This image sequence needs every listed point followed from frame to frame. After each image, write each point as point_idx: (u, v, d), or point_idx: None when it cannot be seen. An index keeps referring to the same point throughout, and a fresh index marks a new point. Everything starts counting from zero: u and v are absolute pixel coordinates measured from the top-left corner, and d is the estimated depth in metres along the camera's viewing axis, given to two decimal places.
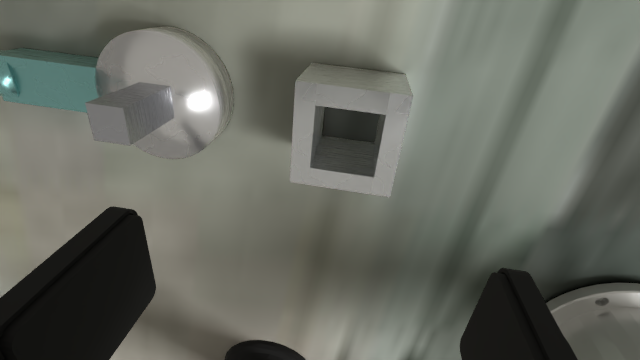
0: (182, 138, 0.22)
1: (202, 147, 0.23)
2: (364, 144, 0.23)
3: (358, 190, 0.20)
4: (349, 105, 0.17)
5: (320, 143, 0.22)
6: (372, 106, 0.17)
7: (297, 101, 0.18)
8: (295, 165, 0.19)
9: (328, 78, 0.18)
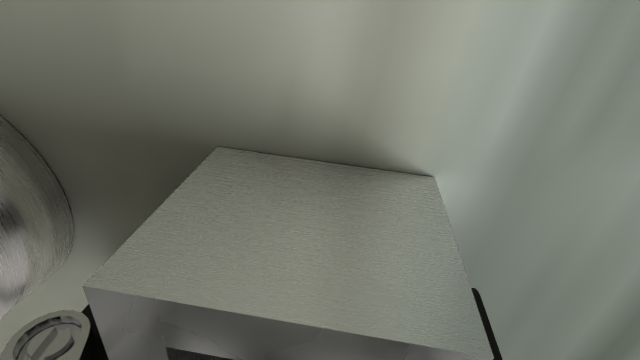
0: None
1: None
2: None
3: None
4: (272, 357, 0.05)
5: None
6: None
7: (108, 333, 0.05)
8: None
9: (218, 242, 0.06)
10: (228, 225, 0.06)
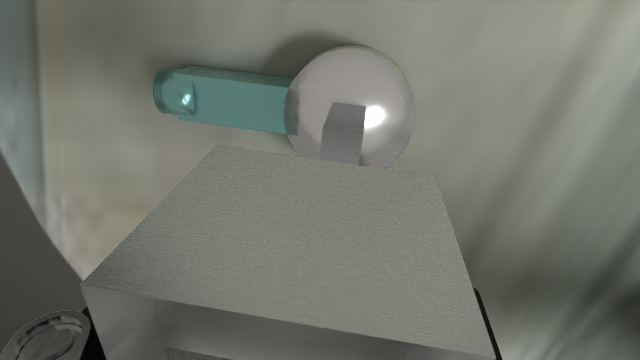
0: (363, 158, 0.22)
1: (383, 166, 0.22)
2: None
3: None
4: (271, 357, 0.05)
5: None
6: None
7: (106, 333, 0.05)
8: None
9: (217, 240, 0.06)
10: (227, 224, 0.06)
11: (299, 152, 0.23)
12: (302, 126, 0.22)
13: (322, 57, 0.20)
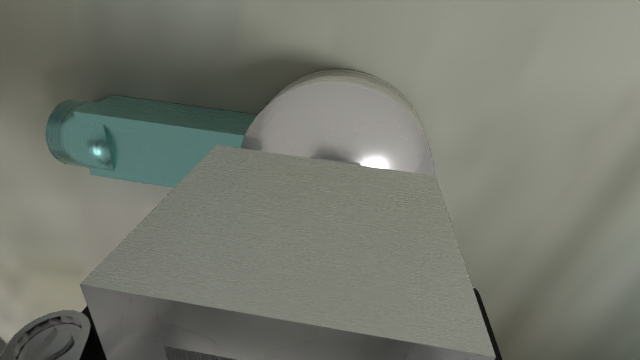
0: None
1: None
2: None
3: None
4: (271, 356, 0.05)
5: None
6: None
7: (106, 332, 0.05)
8: None
9: (217, 240, 0.06)
10: (227, 223, 0.06)
11: None
12: None
13: (292, 92, 0.13)
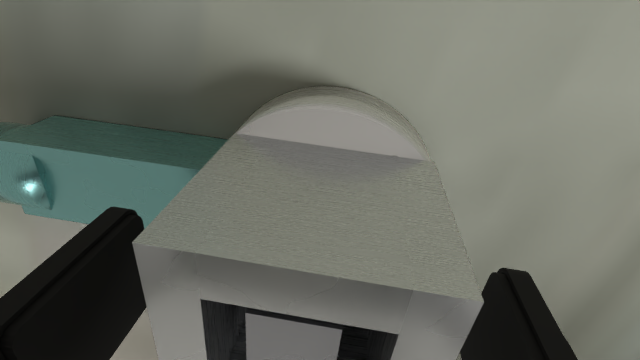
0: None
1: None
2: None
3: None
4: (293, 306, 0.06)
5: None
6: (358, 314, 0.06)
7: (150, 287, 0.06)
8: None
9: (244, 211, 0.07)
10: (251, 198, 0.07)
11: None
12: None
13: (265, 119, 0.10)
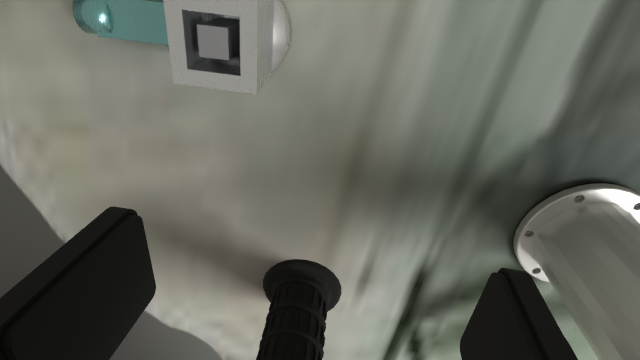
0: None
1: None
2: None
3: (230, 89, 0.23)
4: (209, 8, 0.21)
5: (208, 58, 0.26)
6: (227, 9, 0.21)
7: (166, 6, 0.21)
8: (175, 67, 0.23)
9: None
10: None
11: None
12: None
13: None
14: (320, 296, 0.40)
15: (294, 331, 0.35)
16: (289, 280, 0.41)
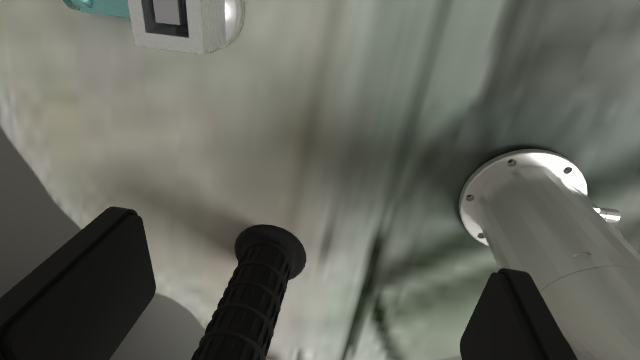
0: None
1: None
2: None
3: (181, 49, 0.28)
4: None
5: (169, 28, 0.31)
6: None
7: None
8: (135, 31, 0.27)
9: None
10: None
11: None
12: None
13: None
14: (283, 258, 0.44)
15: (252, 282, 0.38)
16: (255, 243, 0.44)
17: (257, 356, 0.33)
